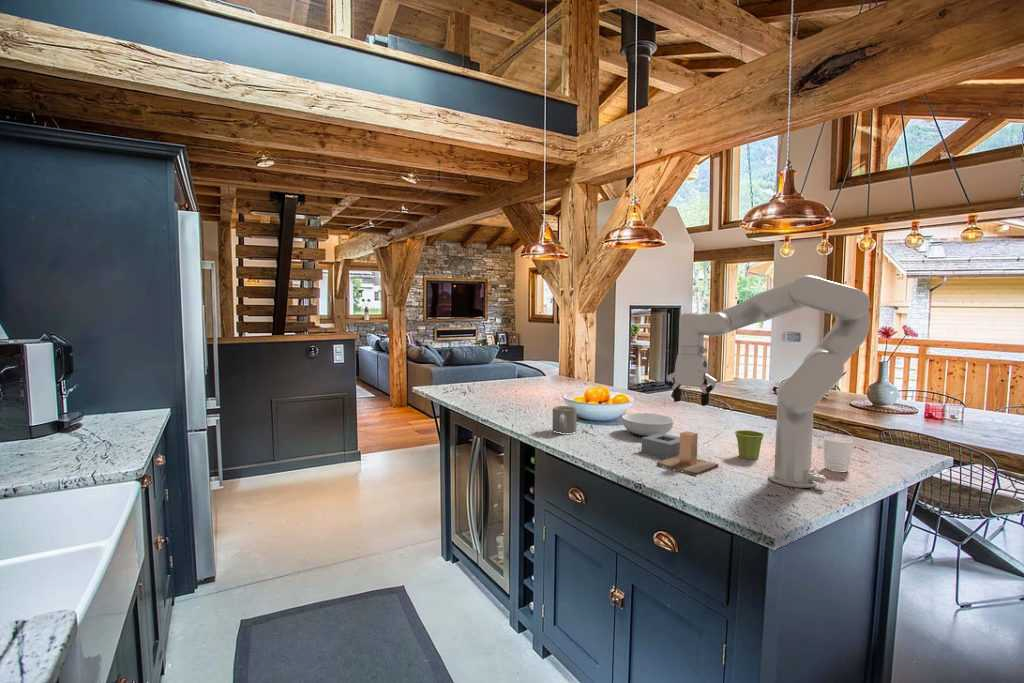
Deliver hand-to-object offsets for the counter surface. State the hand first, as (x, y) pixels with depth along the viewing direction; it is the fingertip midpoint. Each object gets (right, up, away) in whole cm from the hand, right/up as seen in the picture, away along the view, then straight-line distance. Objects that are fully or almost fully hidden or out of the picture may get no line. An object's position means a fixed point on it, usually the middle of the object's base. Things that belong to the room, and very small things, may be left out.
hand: (690, 403), depth 165 cm
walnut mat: (-1, -21, +1) cm, 21 cm away
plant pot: (+25, -21, +12) cm, 34 cm away
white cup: (+47, -22, -1) cm, 52 cm away
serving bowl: (-2, -19, +45) cm, 48 cm away
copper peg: (0, -20, +1) cm, 20 cm away
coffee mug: (-37, -18, +46) cm, 62 cm away
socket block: (-3, -20, +18) cm, 27 cm away
